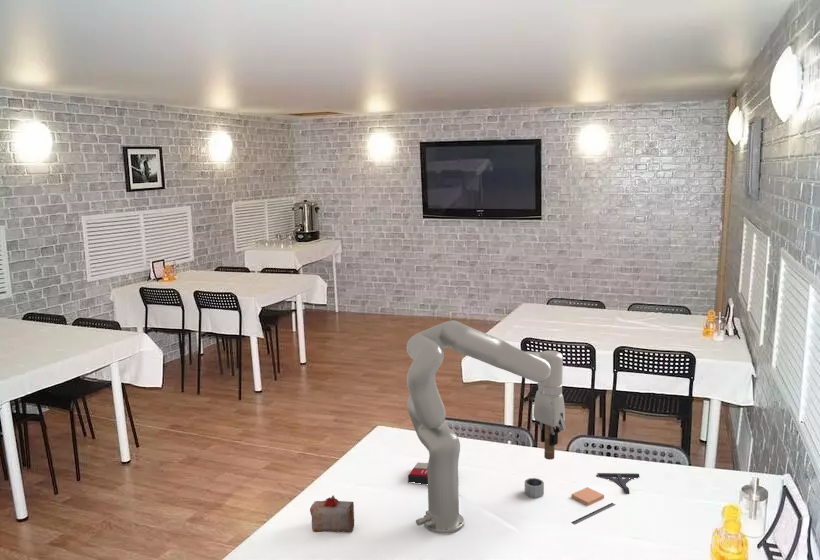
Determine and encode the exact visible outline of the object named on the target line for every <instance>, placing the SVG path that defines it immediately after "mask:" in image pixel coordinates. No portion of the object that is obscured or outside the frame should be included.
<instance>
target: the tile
mask: <svg viewBox="0 0 820 560" xmlns="http://www.w3.org/2000/svg"><path fill="white" fill-rule="evenodd" d="M571 498H572V499H574V500H576V501H578V502H580V503H582V504H584V505H587V506H590V505H592V504H595V503H596V502H599V501H602V500H603V499H605V494H604V493H601V492H598V491H596V490H595V489H592V488H589V487H585V488H583V489H581V490H578V491H575V492H573V493H571Z"/></svg>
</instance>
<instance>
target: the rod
mask: <svg viewBox="0 0 820 560" xmlns="http://www.w3.org/2000/svg"><path fill="white" fill-rule="evenodd" d="M554 428H555V429H556V427H554ZM550 434H551V426H548V425H546V424H545V442H544V454H543V455H544V459H545V460H554V459H555V449H556V448H555V445H553V446H550V445H549V439H550Z"/></svg>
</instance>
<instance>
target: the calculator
mask: <svg viewBox="0 0 820 560" xmlns="http://www.w3.org/2000/svg"><path fill="white" fill-rule="evenodd" d="M427 470H428V462H417V463H416V464H415V466H414V467H413V468H412V470H411V471H410V472H409V473H408V475H407V479H408V481H407V482H408V483H409V482H415V483H421V484H420V485H422V484H428V471H427Z"/></svg>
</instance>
